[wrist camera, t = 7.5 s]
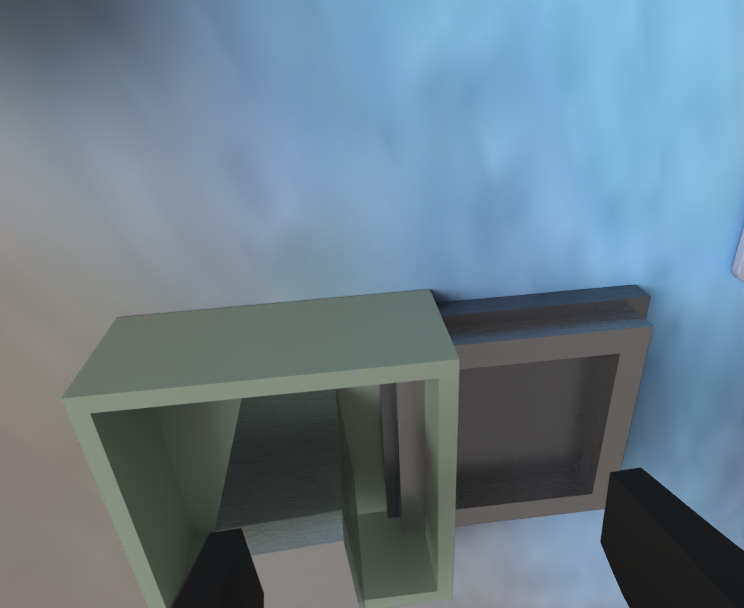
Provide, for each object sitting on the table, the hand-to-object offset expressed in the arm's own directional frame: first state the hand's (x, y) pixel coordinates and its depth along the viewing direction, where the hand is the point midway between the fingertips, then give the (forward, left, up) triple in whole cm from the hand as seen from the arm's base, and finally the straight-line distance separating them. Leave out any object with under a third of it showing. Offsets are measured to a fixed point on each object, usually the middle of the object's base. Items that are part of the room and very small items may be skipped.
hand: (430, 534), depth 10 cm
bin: (+4, +5, -10) cm, 12 cm away
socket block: (-5, +5, -10) cm, 12 cm away
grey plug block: (+4, +6, -10) cm, 12 cm away
